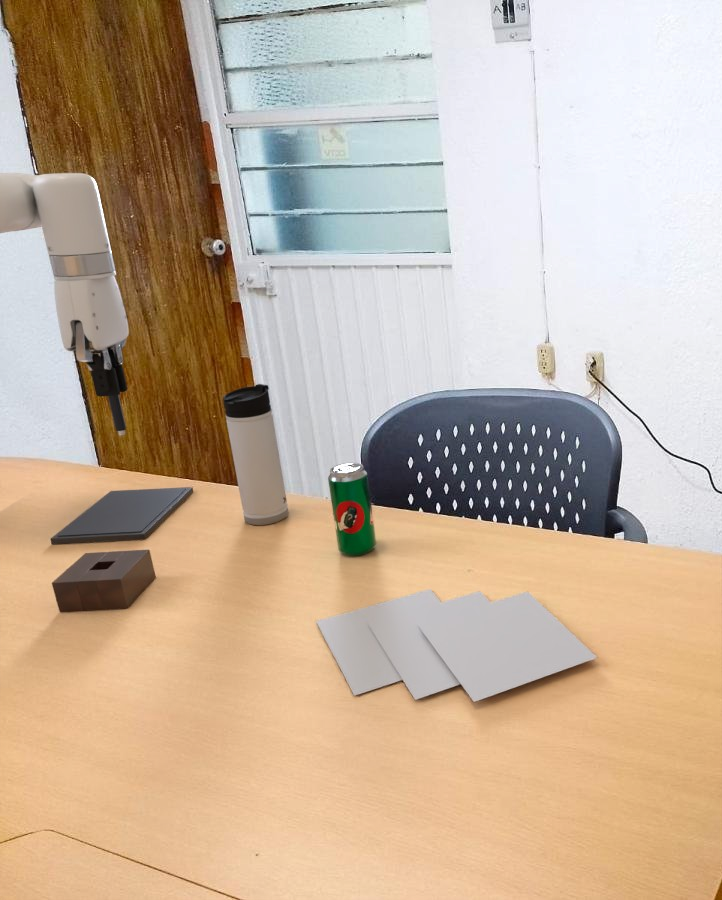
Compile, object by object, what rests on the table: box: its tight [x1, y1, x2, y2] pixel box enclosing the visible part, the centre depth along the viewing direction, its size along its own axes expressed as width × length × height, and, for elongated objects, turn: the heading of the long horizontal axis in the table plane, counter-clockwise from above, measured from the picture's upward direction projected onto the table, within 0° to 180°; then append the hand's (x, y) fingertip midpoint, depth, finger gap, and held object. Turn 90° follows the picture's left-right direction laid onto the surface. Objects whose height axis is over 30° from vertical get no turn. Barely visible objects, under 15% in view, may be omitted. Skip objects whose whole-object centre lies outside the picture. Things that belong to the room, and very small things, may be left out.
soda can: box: [327, 462, 377, 557], centre depth 112 cm, size 5×5×12 cm
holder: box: [51, 549, 157, 613], centre depth 103 cm, size 8×8×4 cm
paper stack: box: [315, 588, 598, 703], centre depth 92 cm, size 23×25×1 cm
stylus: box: [100, 356, 127, 437], centre depth 122 cm, size 1×1×12 cm
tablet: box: [49, 486, 194, 545], centre depth 127 cm, size 13×18×1 cm
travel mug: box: [222, 383, 290, 526], centre depth 122 cm, size 6×7×20 cm
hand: (112, 392), depth 122 cm, fingers closed on stylus, 1 cm apart
